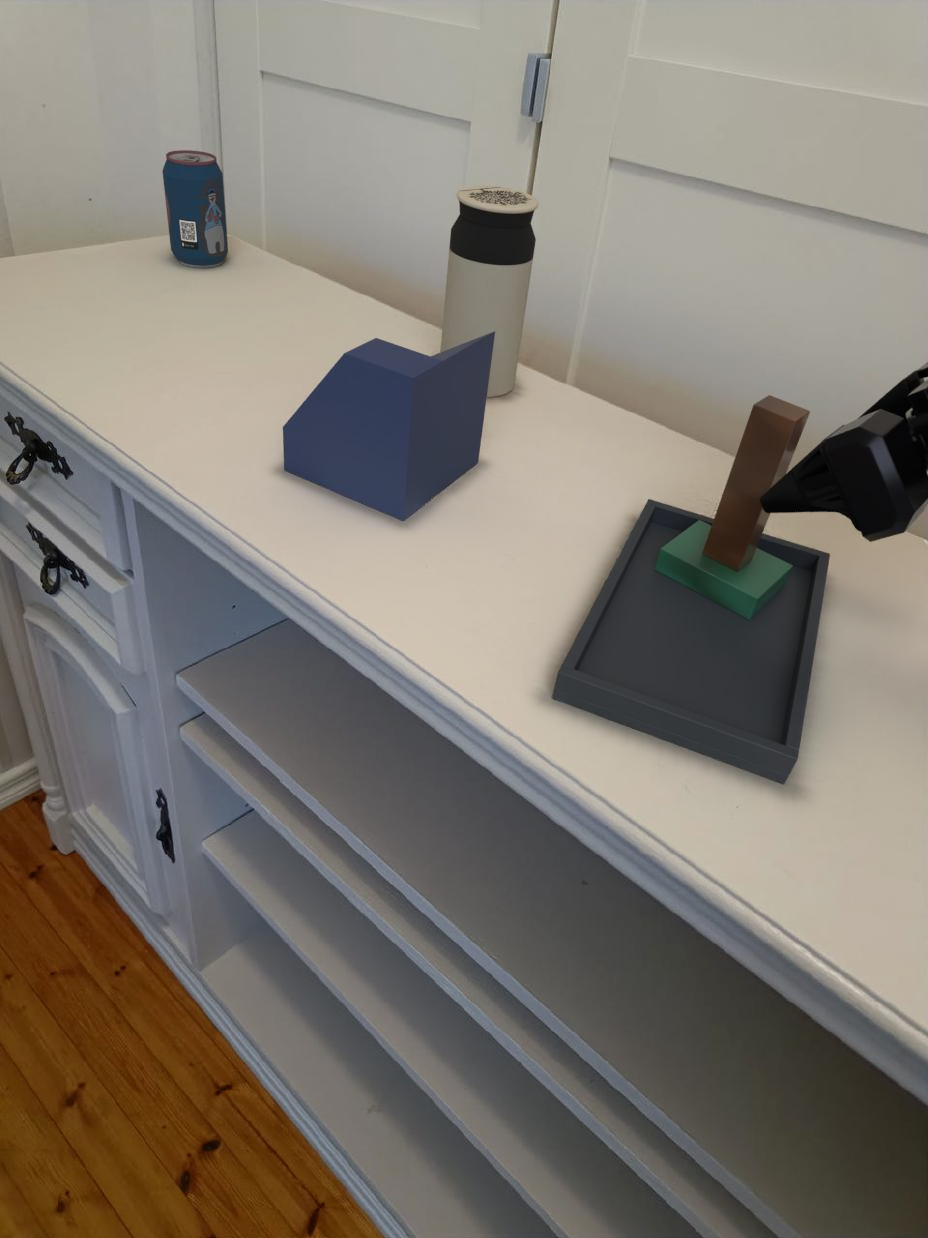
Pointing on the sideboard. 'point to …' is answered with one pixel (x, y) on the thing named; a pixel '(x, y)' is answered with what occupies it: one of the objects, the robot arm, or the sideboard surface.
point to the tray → (699, 653)
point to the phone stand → (392, 424)
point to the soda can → (195, 208)
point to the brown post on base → (740, 519)
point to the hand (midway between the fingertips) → (792, 481)
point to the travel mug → (490, 276)
